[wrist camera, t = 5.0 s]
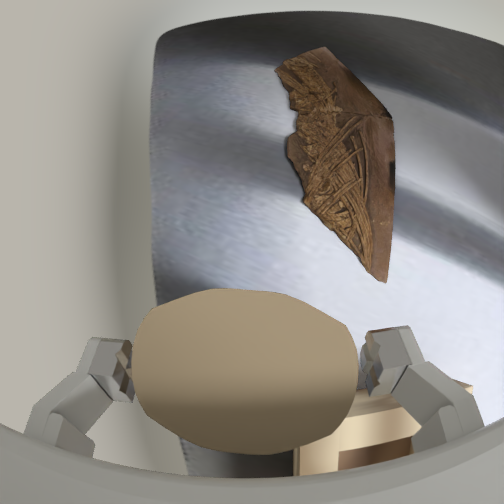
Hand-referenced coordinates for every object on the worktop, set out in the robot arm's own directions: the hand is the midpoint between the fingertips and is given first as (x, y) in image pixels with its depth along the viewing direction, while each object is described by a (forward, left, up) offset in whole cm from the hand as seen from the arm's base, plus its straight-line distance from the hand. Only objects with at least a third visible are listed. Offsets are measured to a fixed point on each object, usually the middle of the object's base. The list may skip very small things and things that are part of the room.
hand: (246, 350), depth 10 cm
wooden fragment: (-9, -15, -14) cm, 22 cm away
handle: (0, 0, -13) cm, 13 cm away
